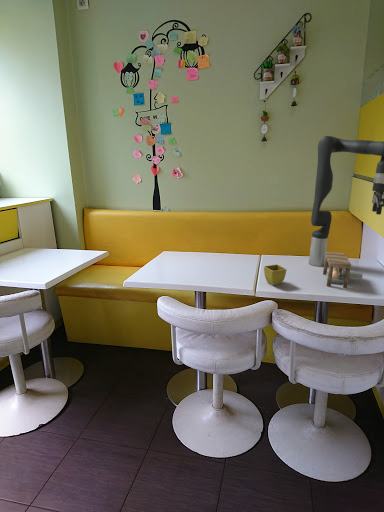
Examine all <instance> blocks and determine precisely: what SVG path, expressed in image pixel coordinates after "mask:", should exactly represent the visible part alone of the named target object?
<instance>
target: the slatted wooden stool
mask: <svg viewBox="0 0 384 512" xmlns="http://www.w3.org/2000/svg"><path fill="white" fill-rule="evenodd" d="M351 267H352V264H351V262H350V260H349V258H348V257H347V255H346V253H343V252H334V251H333V252H332V251H326V253H325V262H324V265H323V271H322V275H325V276H326V273H328V279H327V278H326V280H327V281H326V286H327V287H328V288H330V287H331V286H332V283H331V281H332V274H333V268H338V269H339V270H338V271H340V274H342V272H343V269H345V277H344V284H343V285H342V288H344V289H348V283H349V279H350V278H349V273H350V272H351Z"/></svg>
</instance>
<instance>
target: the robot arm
mask: <svg viewBox="0 0 384 512" xmlns="http://www.w3.org/2000/svg"><path fill="white" fill-rule="evenodd" d="M343 152H344V153H350V154H351V153H352V154H359V155H369V156H370V155H374V156H379V157H380V160H379V161H378V162H377V164H376V169H375V173H374V178H373V183H372V191H373V195H372V200H371V202H372V208H371V211H372V212H374V213H375V214H376V215H381V214H382V210H383V208H384V141H383V140H382V141H381V140H380V141H379V140H377V141H376V140H368V139H367V140H366V139H356V140H355V139H354V140H352V139H351V140H349V139H343V138H338V137H335V136H331V135H324V136H322V137H320V139H319V141H318V143H317V165H316V167H317V168H316V175H315V176H316V178H315V185H314V198H313V203H312V204H313V205H312V211H311V219H310V223H311V226H312V227H313V226H314V227H320V228H318V229H316V230H314V231H312V233H311V241H310V250H309V251H310V252H309V257H308V259H309V260H308V264H309V265H311V266H315V267H322V266H323V267H324V262H325V253H326V252H327V247H328V240H329V235H330V229H331V225H332V217H333V216H332V215H333V214H332V212H331V211H329V210H321V207H322V204H323V202H324V200H325V199H326V198H327V196H328V195H330V193H331V191H332V189H333V182H334V174H333V170H332V169H333V168H332V165H331V159H332V153H343Z"/></svg>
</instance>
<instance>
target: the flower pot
mask: <svg viewBox="0 0 384 512" xmlns="http://www.w3.org/2000/svg"><path fill="white" fill-rule="evenodd" d="M287 270H288V269H287V268H285V267H283V266H281V265H279V264H270V265H264V266H263V274H264V278H265V281H267V283H268V284H270V285H272V286H277V285H281V284H283V282H284V280H285V278H286V275H287Z"/></svg>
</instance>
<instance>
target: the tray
mask: <svg viewBox="0 0 384 512" xmlns="http://www.w3.org/2000/svg"><path fill="white" fill-rule="evenodd" d="M345 271H346V268H343V270H342V274H340V271H339V267H333V274H332V281H331V285H332V284H334V285H342V286H343V284H344V277H345ZM325 277H326V278H325V279H326V280H327V279H328V272H327V273H326V275H325ZM349 279H359V280H362V279H363V273H362V272H355V271H354V272H352V271H350V273H349Z"/></svg>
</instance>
